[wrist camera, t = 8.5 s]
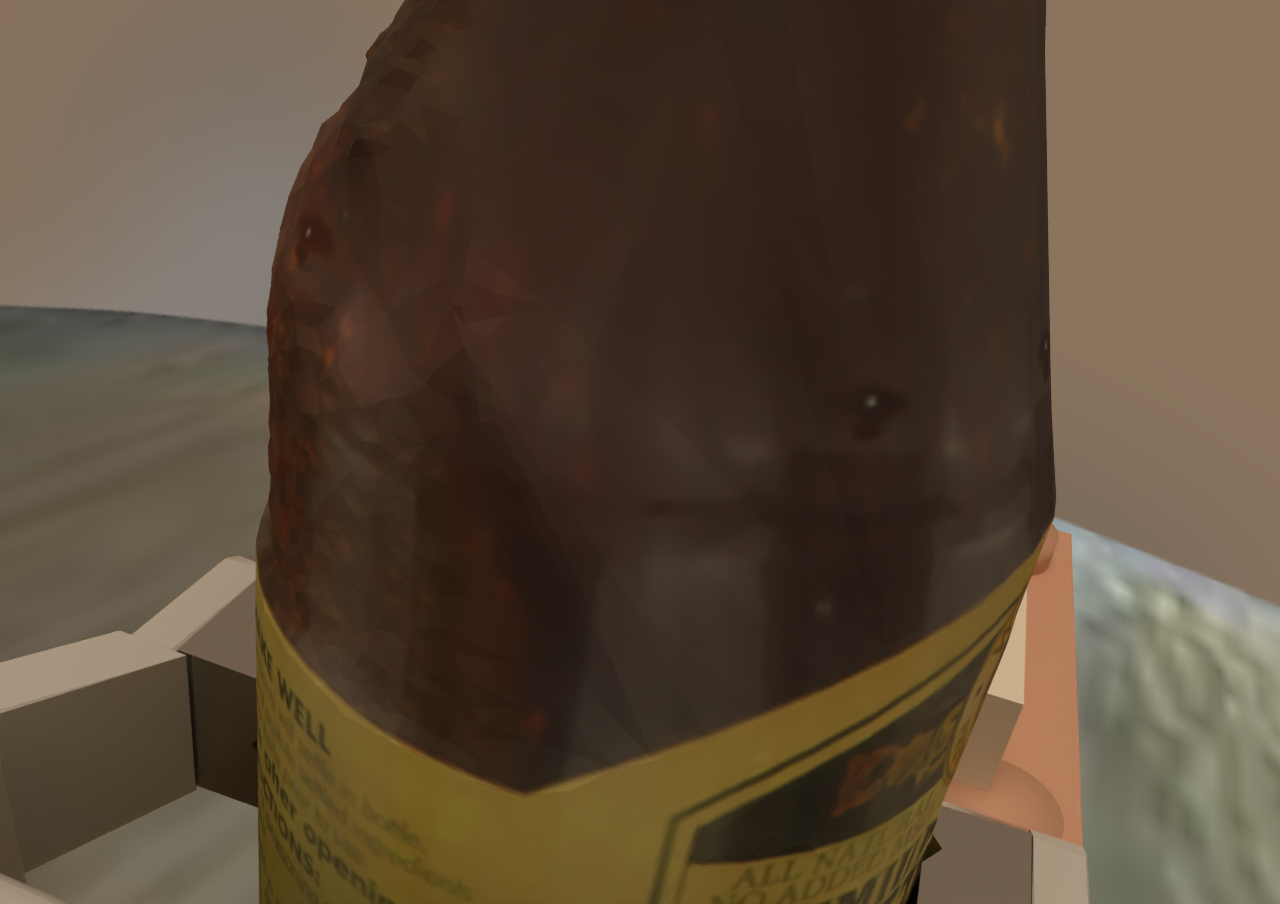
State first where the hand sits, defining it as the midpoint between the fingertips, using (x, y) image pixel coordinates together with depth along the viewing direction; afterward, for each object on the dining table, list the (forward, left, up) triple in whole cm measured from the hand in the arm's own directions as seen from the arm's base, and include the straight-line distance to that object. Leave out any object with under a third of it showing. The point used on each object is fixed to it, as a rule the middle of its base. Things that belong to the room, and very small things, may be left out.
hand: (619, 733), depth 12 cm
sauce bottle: (0, -1, -8) cm, 8 cm away
